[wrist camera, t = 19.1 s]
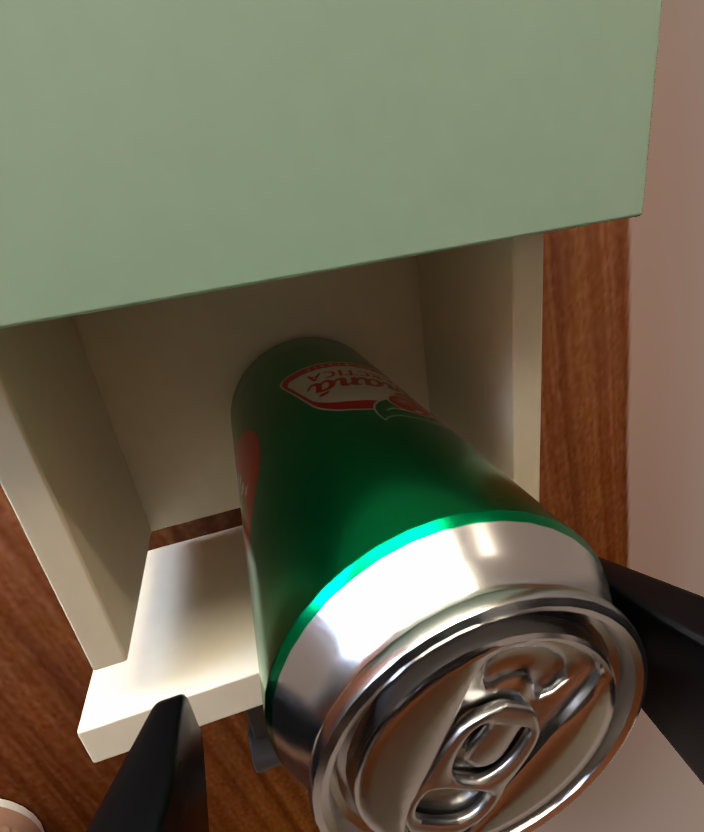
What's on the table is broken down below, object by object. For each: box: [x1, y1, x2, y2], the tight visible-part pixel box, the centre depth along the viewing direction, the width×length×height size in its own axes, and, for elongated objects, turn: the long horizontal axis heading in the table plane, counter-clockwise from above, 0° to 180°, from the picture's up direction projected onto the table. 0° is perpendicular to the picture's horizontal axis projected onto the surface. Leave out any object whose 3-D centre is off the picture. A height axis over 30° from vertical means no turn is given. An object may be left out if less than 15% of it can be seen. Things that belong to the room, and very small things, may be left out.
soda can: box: [231, 337, 648, 832], centre depth 11 cm, size 5×5×12 cm
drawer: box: [0, 233, 544, 773], centre depth 15 cm, size 18×14×7 cm
